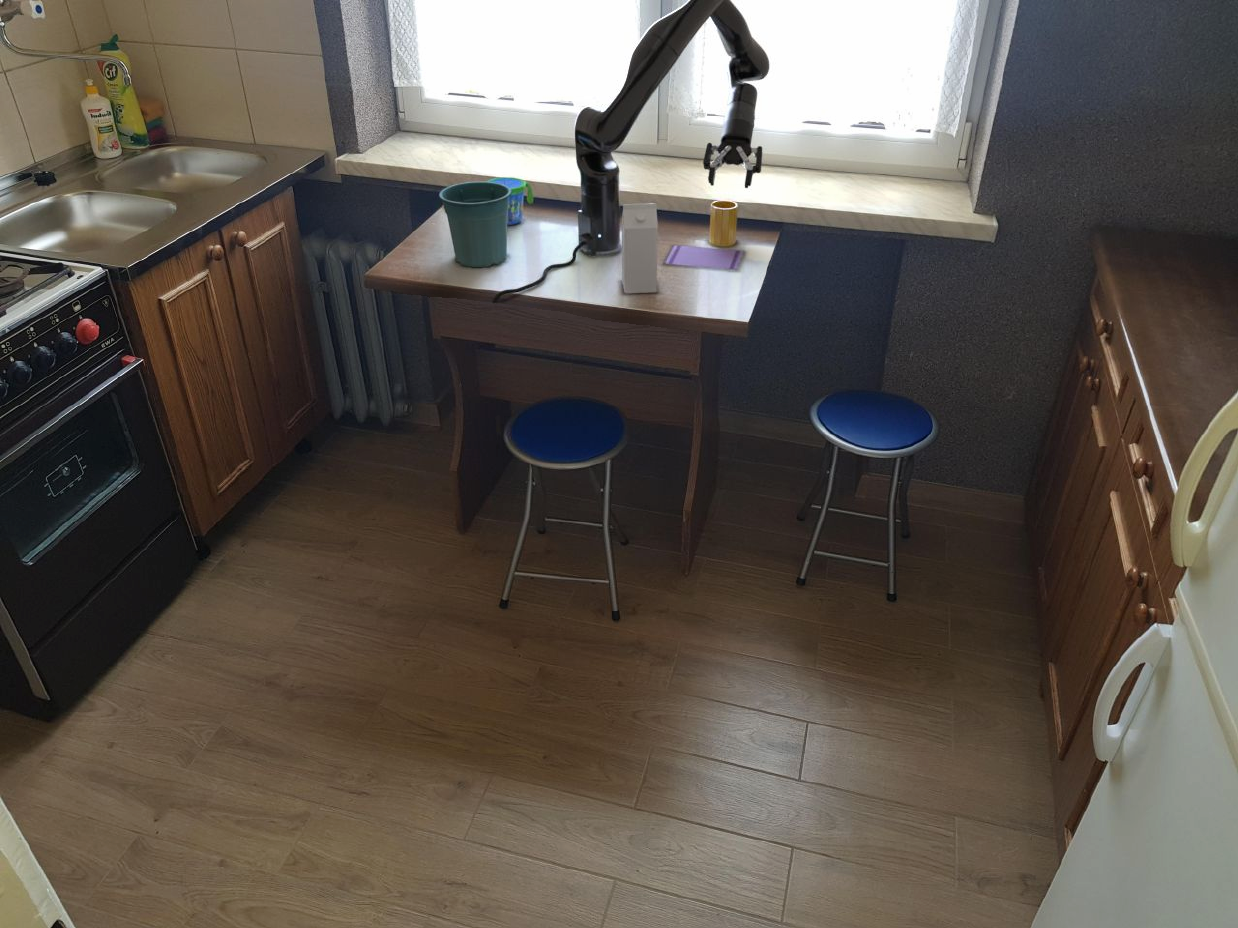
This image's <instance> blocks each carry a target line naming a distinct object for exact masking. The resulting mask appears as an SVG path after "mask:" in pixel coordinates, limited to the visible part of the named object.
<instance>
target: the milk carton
mask: <svg viewBox="0 0 1238 928" xmlns="http://www.w3.org/2000/svg"><path fill="white" fill-rule="evenodd" d="M657 211H658V210H657V202H652V203H650V202H648V203H623V204H622V213H621V282H622V287H623V291H624V294H649V293H657V290H658V289H657V288H658V286H657V285H658V244H659V243H658V242H659V239H658V237H659V223H658V213H657Z"/></svg>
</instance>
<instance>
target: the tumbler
mask: <svg viewBox="0 0 1238 928" xmlns="http://www.w3.org/2000/svg"><path fill="white" fill-rule="evenodd" d="M738 211H739V205H738V203H737V202H735V201H732V200H725V199H724V200H722V199H721V200H715V201H713V202H711V203H710V211H709V213H710V214H709V231H708V242H709V243H710V244H711V245H713V246H716V247H717V246H718V247H730V246H733V245H735V243H736V242H737V241H736V240H737V224H738V213H739V212H738Z"/></svg>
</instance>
